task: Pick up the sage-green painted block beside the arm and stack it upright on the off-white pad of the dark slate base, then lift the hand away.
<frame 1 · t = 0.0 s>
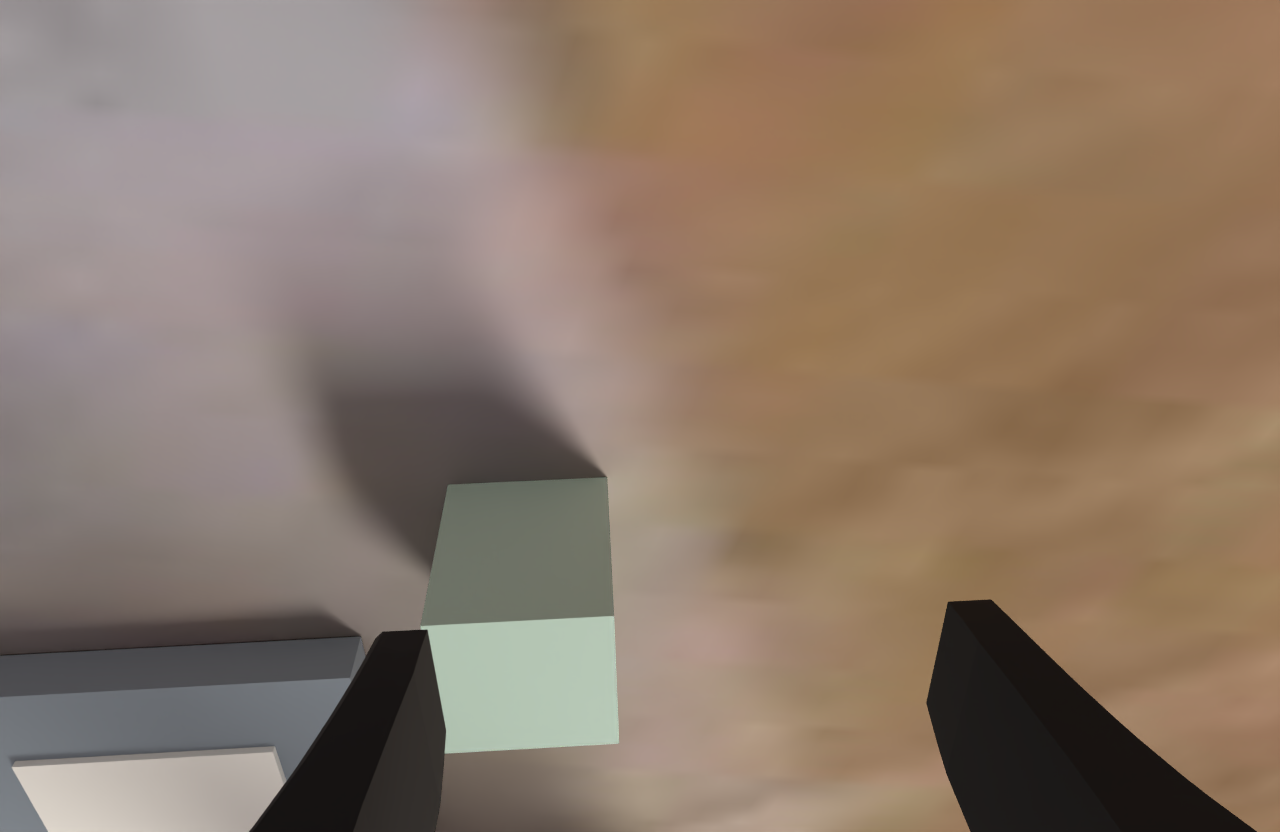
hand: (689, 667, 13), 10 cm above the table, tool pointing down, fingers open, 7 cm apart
slate base: (197, 787, 29), on the table
sage block: (533, 541, 25), on the table
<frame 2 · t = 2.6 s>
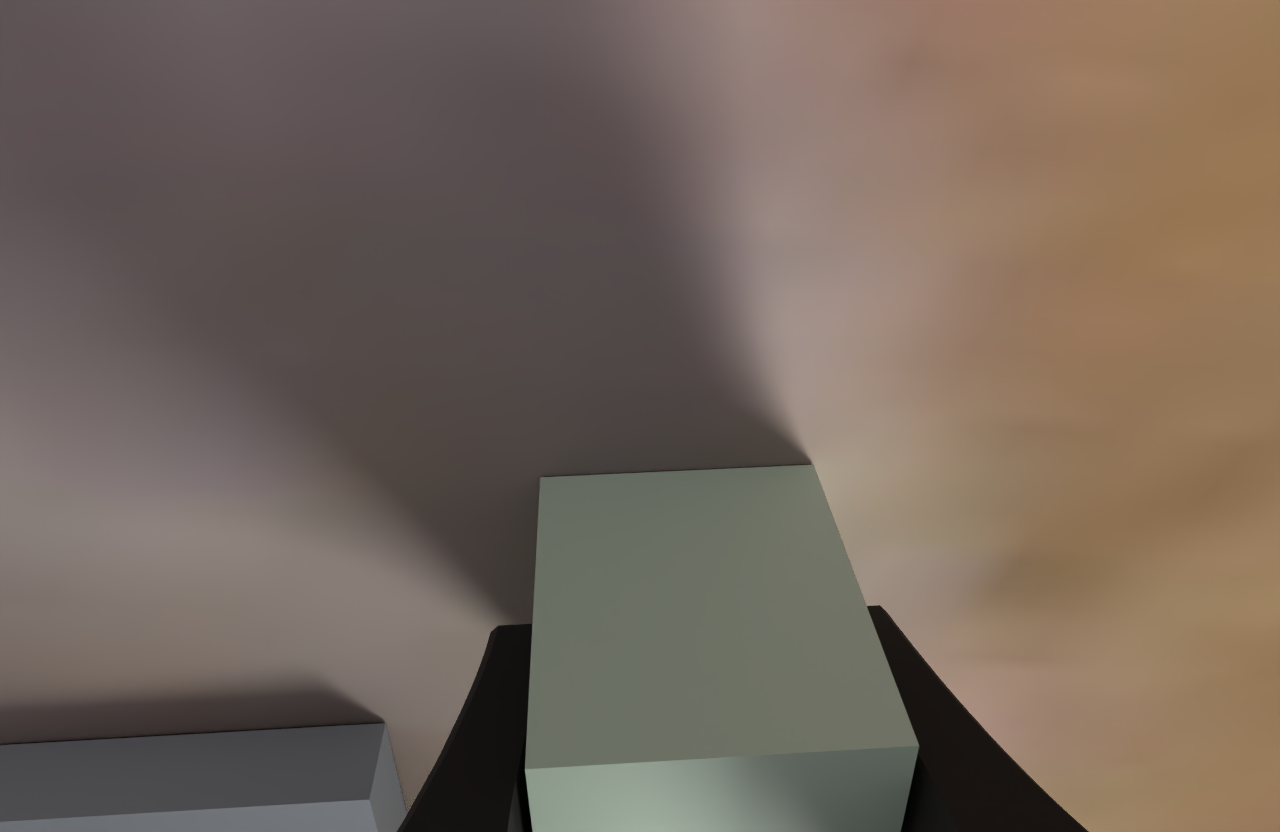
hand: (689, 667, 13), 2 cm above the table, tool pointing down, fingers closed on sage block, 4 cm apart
sage block: (676, 574, 15), on the table, touching gripper
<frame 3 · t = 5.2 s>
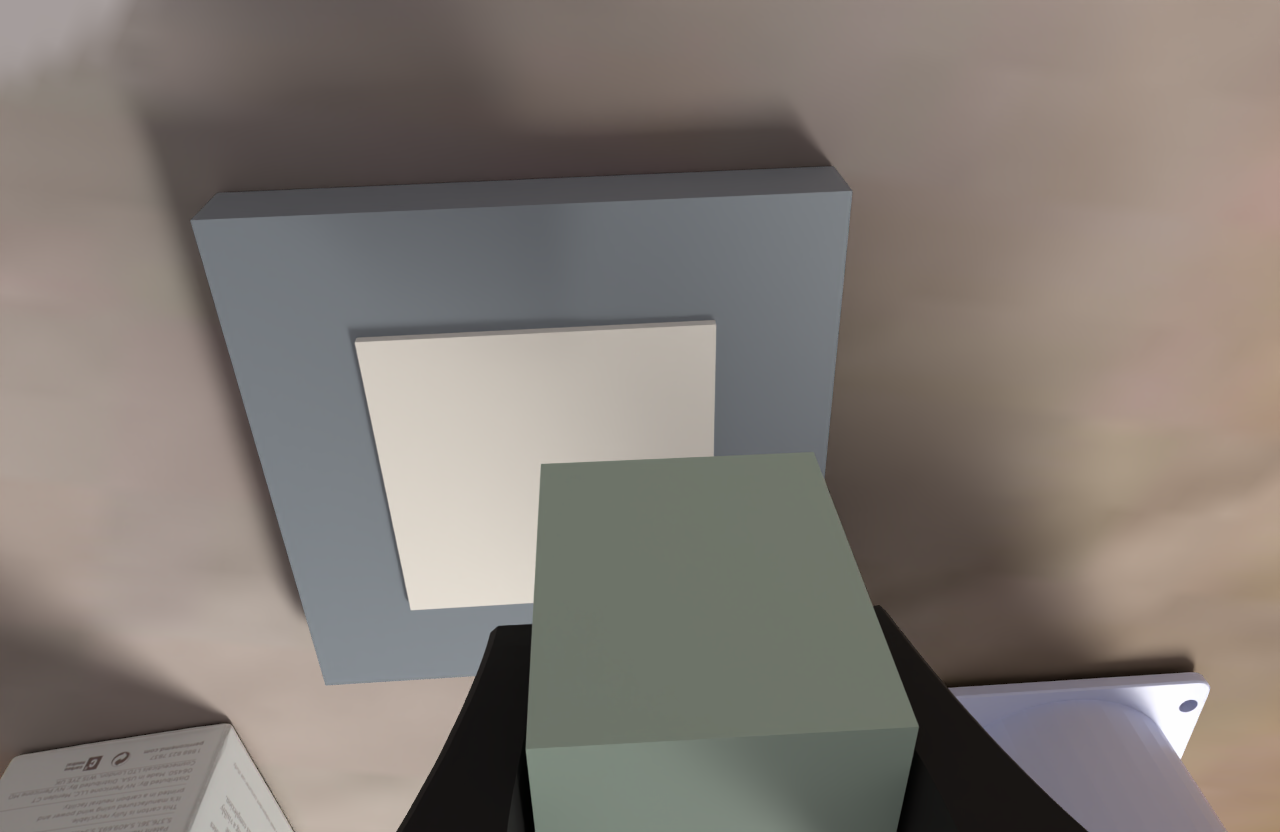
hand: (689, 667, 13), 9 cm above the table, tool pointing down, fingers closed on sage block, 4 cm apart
slate base: (551, 436, 22), on the table
sage block: (676, 562, 15), point 7 cm above the table, touching gripper
small box: (183, 815, 28), on the table
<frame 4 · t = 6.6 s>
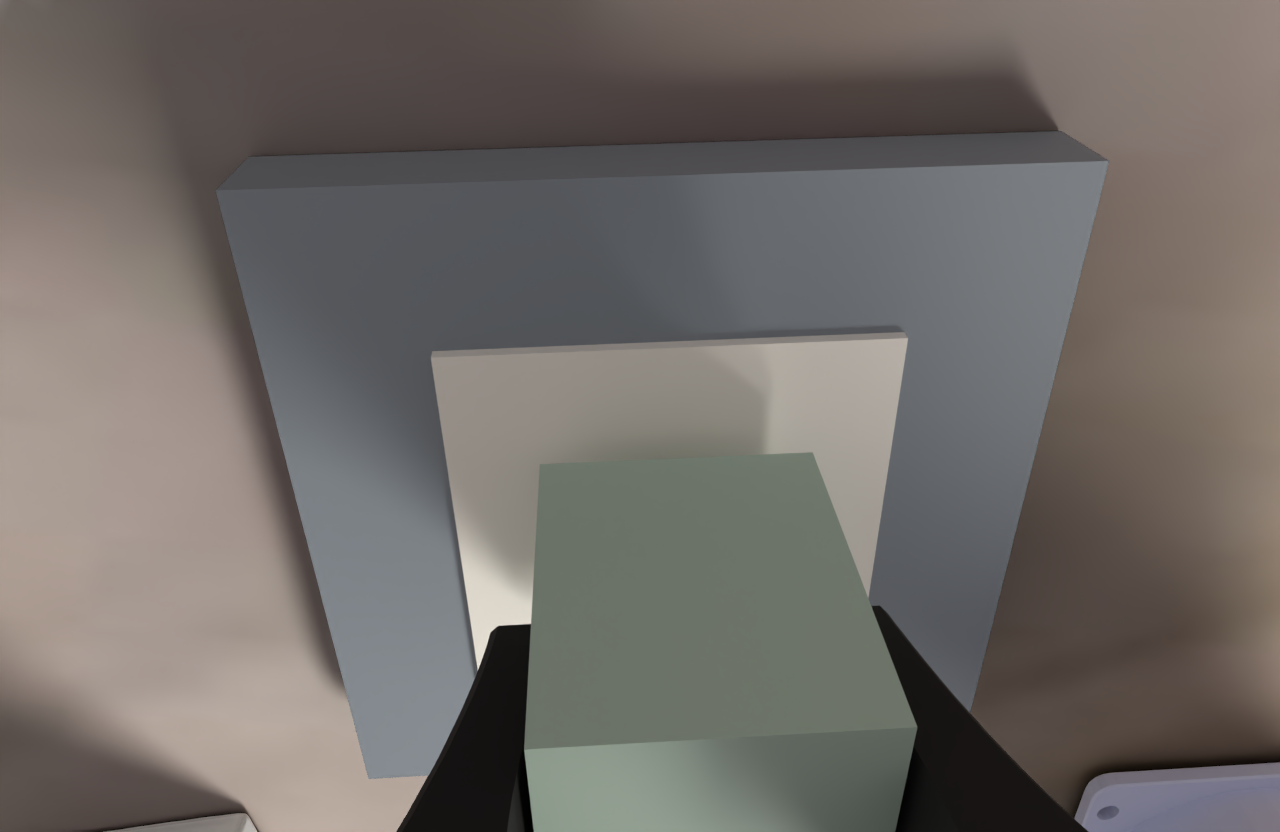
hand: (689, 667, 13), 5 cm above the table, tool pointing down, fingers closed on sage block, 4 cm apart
slate base: (663, 475, 17), on the table
sage block: (676, 562, 15), point 3 cm above the table, touching gripper
when the fingers open (5 cm above the table, at t = 7.6 s): sage block stays where it is, resting on slate base.
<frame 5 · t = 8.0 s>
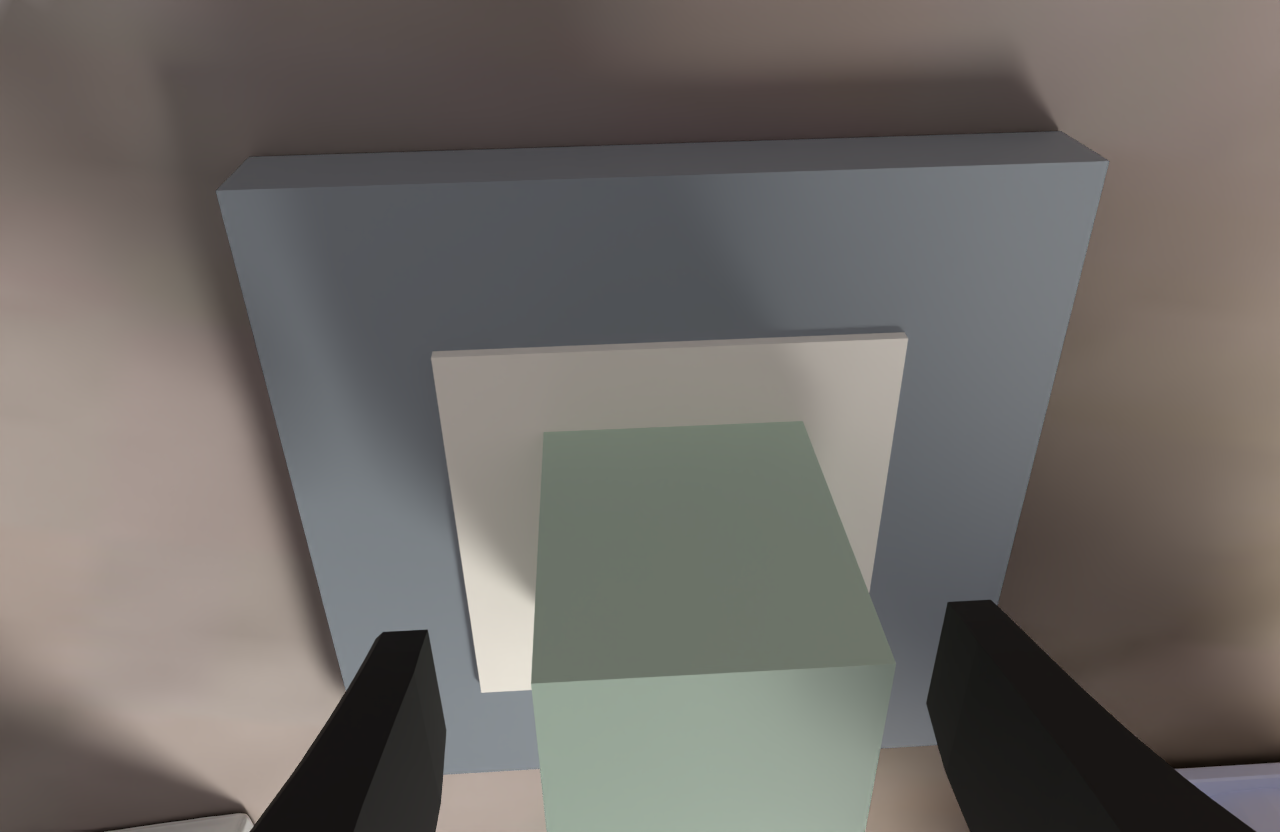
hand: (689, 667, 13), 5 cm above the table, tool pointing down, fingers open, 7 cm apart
slate base: (663, 475, 17), on the table
sage block: (673, 528, 16), point 2 cm above the table, touching slate base
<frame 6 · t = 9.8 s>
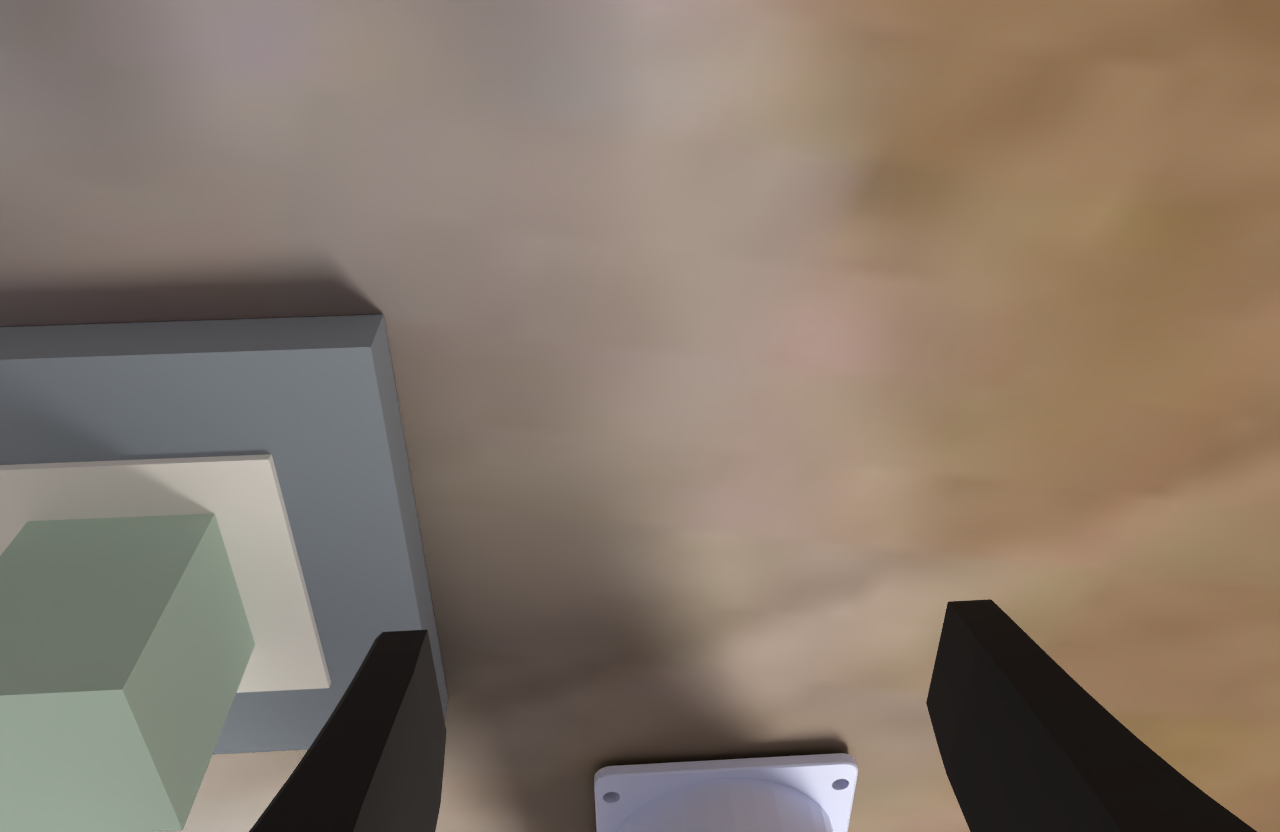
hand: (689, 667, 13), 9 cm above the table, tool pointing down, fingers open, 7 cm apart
slate base: (174, 543, 23), on the table
sage block: (147, 586, 22), point 2 cm above the table, touching slate base
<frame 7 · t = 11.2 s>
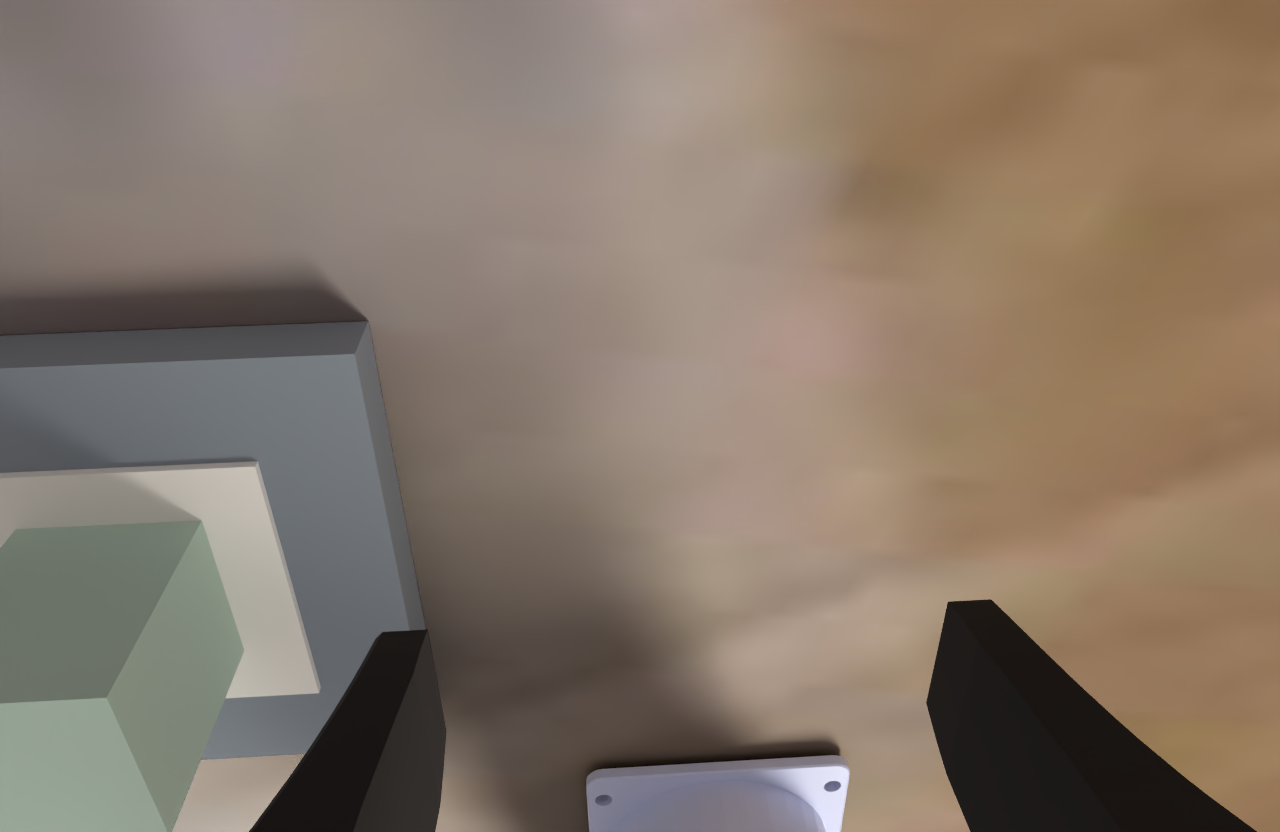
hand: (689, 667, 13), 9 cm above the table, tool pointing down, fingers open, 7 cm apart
slate base: (163, 549, 23), on the table
sage block: (136, 592, 22), point 2 cm above the table, touching slate base
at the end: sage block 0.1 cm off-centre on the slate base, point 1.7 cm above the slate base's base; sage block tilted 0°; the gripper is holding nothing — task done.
